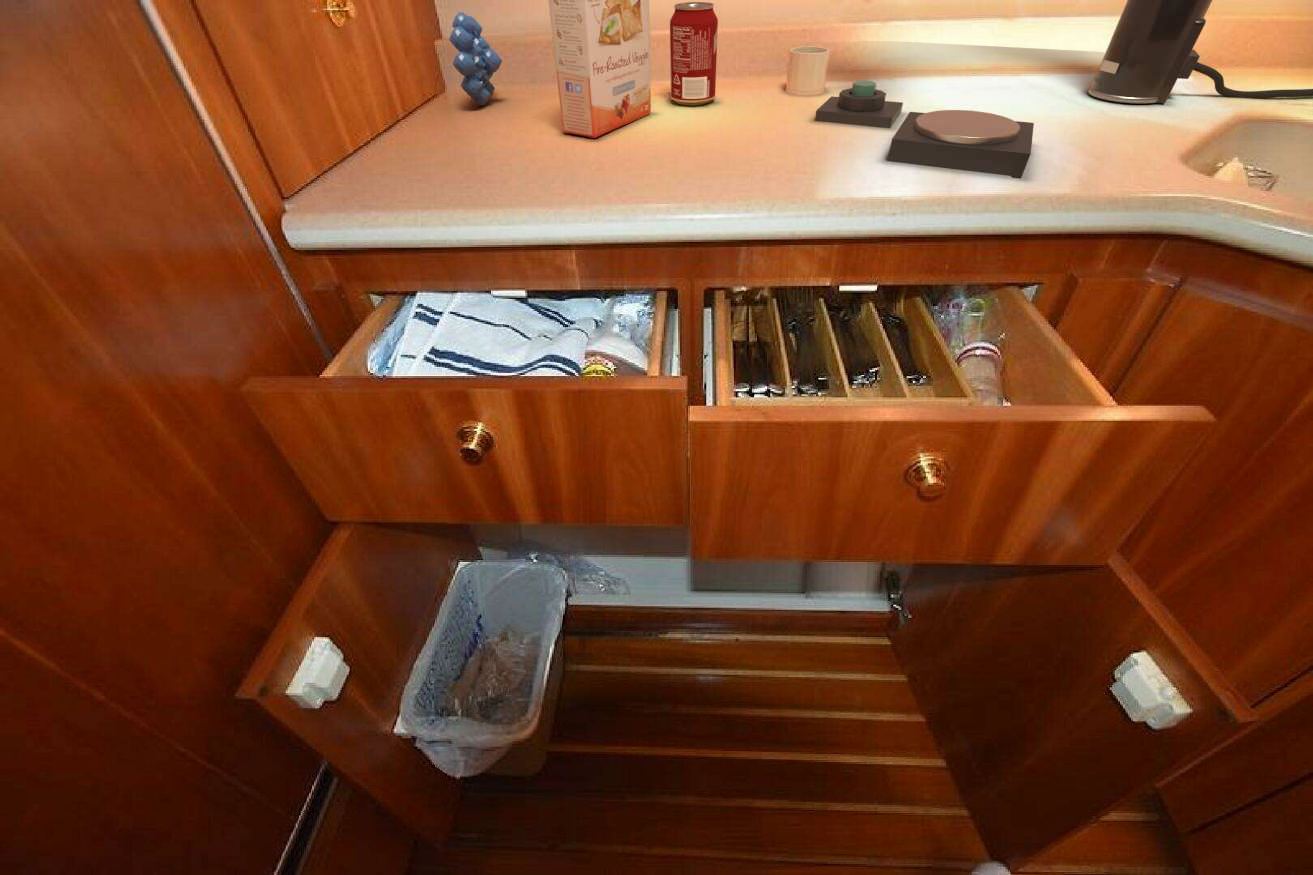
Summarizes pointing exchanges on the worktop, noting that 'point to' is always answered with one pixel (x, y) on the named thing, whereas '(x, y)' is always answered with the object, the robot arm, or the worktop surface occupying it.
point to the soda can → (693, 53)
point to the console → (860, 110)
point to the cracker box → (601, 63)
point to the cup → (807, 70)
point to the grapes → (474, 58)
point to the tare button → (863, 88)
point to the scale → (963, 142)
